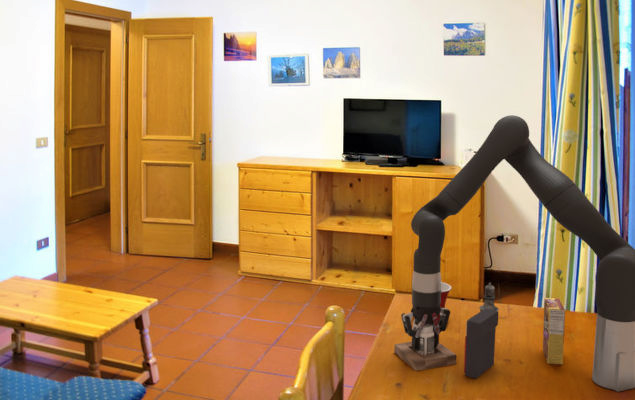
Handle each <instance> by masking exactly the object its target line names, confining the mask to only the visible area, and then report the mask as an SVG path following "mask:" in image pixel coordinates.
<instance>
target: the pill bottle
mask: <svg viewBox="0 0 635 400" xmlns="http://www.w3.org/2000/svg"><path fill="white" fill-rule="evenodd" d="M418 325H419V323H418ZM419 337H420V350H418V351H416V353H417V354H418V355H419V356H424V355H430V354H434V332H433V325H432V324H427V325H424V327H423V330H421V333H420V336H419Z"/></svg>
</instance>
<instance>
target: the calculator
mask: <svg viewBox="0 0 635 400" xmlns="http://www.w3.org/2000/svg"><path fill="white" fill-rule="evenodd" d="M465 323H466V324H465V325H466V326H465V337H464V359H463V360H464V362H463V364H464V365H463V373H465V374H464V375H465V377H469V378H471V379H475V380H476V379H477V378H479V377H480V376H482V375H483V374H484V373H485V372H487V371H488V370H489V369H491V367H493V366H494V364H495V351H496V350H495V349H496V348H495V347H496V346H495V345H496V329H497V326H498V325H499V310H498V311H495V310H491V309H484V310H482V311H481V312H480V311H479V312H478V313H476V314H474V315H473V316H471V317H470V318H468V319H467V320H466V322H465Z"/></svg>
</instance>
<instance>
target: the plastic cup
mask: <svg viewBox="0 0 635 400" xmlns="http://www.w3.org/2000/svg"><path fill="white" fill-rule="evenodd" d="M451 290H452V286H451V285H450V284H449V283H446V282H442V281H441V304H440V307H441V308H443V307H445V308H446V302H447V298H448V296H449V292H450V291H451ZM439 318H440V314H439V316H438V317H437V320H438V322H439Z"/></svg>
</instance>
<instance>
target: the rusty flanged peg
mask: <svg viewBox="0 0 635 400" xmlns="http://www.w3.org/2000/svg"><path fill="white" fill-rule="evenodd" d="M495 289H496V288H495V286H494V285H492V283H491V282H488V284H487V285H486V286H485V287H484V295H483V298H484V300H483V304H482V305H480V306H479V308H478V309H479V312H481V311H482V310H484V309H491V310H495V311H498V312H499V307H497V306H495V299H496V295H495Z"/></svg>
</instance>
